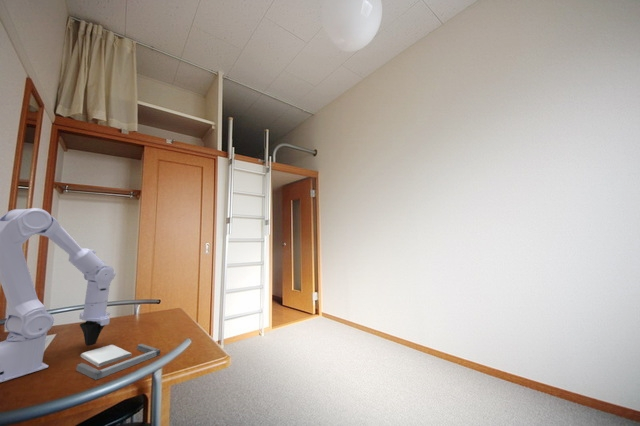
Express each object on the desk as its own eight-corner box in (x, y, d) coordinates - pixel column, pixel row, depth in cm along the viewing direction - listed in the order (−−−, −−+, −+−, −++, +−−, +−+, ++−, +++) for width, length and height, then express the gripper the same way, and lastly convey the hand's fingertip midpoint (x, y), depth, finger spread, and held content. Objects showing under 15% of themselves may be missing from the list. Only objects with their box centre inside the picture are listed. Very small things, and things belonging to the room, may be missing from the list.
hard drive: (132, 352, 76) (113, 343, 82) (99, 363, 69) (80, 352, 75) (131, 358, 76) (112, 348, 82) (98, 369, 69) (80, 358, 75)
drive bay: (95, 380, 63) (96, 373, 63) (76, 370, 67) (77, 364, 67) (160, 354, 77) (160, 349, 78) (140, 348, 82) (141, 343, 82)
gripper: (122, 302, 82) (117, 344, 81) (99, 297, 88) (94, 336, 87) (96, 306, 76) (90, 352, 74) (73, 300, 82) (67, 343, 80)
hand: (90, 344), depth 80 cm, fingers closed
